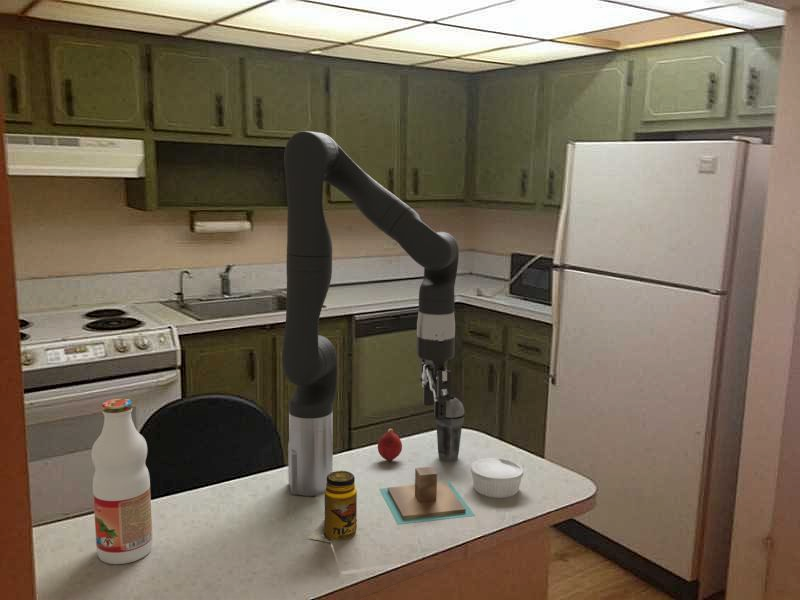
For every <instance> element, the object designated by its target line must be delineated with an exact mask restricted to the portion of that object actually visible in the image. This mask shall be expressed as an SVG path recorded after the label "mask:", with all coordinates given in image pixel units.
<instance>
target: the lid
mask: <svg viewBox="0 0 800 600" xmlns="http://www.w3.org/2000/svg"><path fill="white" fill-rule="evenodd" d="M414 471H415V473H414V484H413V485H412V484H411V485H403V486H400V485H399V486H393V487H391V486H390V487H387V488H388V493H389V495H390V496H391V498H392V500H393V502H394V504H395V506H396V507H397V509H398V511H399V513H400V515H401V517H402V518H403V520H405V519H414V518H423V517H433V516H442V515H451V514H460V513H466V509H465V508H464V506H463V505H462V504H461V502H460V501H459V500H458V498H457V497H456V496H455V494H454V493H453V491H452V490H451V489H450V487H449V486H448V485H447V483H446V482H447V481H443V482H438V473H437V471H436V470H435V469H434V467H433V466H426V467H425V466H423V467H415V470H414Z"/></svg>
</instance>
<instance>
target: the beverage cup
mask: <svg viewBox="0 0 800 600" xmlns="http://www.w3.org/2000/svg"><path fill="white" fill-rule="evenodd" d="M465 416H466V412H465V408H464V404H463V403H462V402H461V401H460V400H459V399H458V398H456V397H454V396H451V400H450V401H446V418H445V419H444V420H436V419H435V418H434V419H435V423H436V439H437V440H436V441H437V442H436V443H437V454H438V458H439V460H440V461H443V462H455V461H457V460H458V458H459V453H460V446H461V438H462V437H461V436H462V429H463V428H462V427H463V424H464V421H465Z"/></svg>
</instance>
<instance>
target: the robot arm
mask: <svg viewBox="0 0 800 600" xmlns="http://www.w3.org/2000/svg"><path fill="white" fill-rule="evenodd" d="M288 139H289V140H288V141H287V143H286V145H285V148H284V152H283V153H284V155H283V166H284V172H285V173H284V175H285V185H286V186H285V187H286V195H287V197H286V198H287V222H286V224H287V225H286V226H287V231H286V232H287V233H286V236H287V237H286V240H287V241H286V299H285V300H286V301H285V303H286V305H285V309H286V311H285V312H286V314H285V324H284V334H283V343H282V350H281V365H282V370H283V373H284V376H285V377H286V379H287V380H288V381H289V383H291V384H293V385H294V386H296V387H295V390H294V392H293V394H292V395H291V396H290V399H289V400H288V425H289V426H288V432H289V435H288V436H289V439H288V443H287V447H288V448H287V449H288V452H287V453H288V454H287V455H288V456H287V457H288V458H287V459H288V460H287V462H288V470H287V471H288V472H287V473H288V485H289V490H290V494H291V495H298V496H303V497H304V496H306V497H313V496H317V495H319V494H325V489H326V484H327V480H326V479H327V476H328V475H329V474H330V473H332V472H334V471H333V465H334V464H333V458H334V457H333V456H334V455H333V445H334V444H333V438H334V437H333V432H334V431H333V422H334V421H333V417H334V416H333V414H334V413H333V409H334V408H333V407H334V406H333V405H334V402H335V400H336V399H335V398H336V395H337V383H338V382H337V380H338V356H337V351H336V348H335V346H334V345H333V343H332V342H331V340H329V339H328V338H327V337H326V336H323V335H319V323H320V322H319V321H320V316H321V313H322V310H323V306H324V304H325V300H326V298H327V296H328V292H329V288H330V285H331V282H332V281H331V280H332V274H333V273H332V272H333V243H332V238H331V237H332V236H331V234H330V233H331V232H330V230H329V227H328V226H329V225H328V222H327V220H326V219H327V218H326V215H325V211H324V205H323V196H324V195H323V193H324V192H323V191H324V182H325V183H327V184H329V185H330V186H332V187H334V188H335V189H337V190H338V191H340V192H341V193H342V194H343V195H345V196H346V197H347V198H348V199H349V200H350V201H351V202H352V203H353V204H354V205H355V207H356V208H357V209H358V210H359V212H361V213H362V215H363V216H364V217H365V218H366V219H367V220H368V221H369V222H371V223H372V224H373V226H375V227H376V228H378V229H379V231H382V232H383V233H384V234H385V235H386V236H388V237H389V238H391V239H392V240H393V241H395V242H396V243H397V244H398V245H399V247H400V248H402V249H403V250H404V251H405V252H406V254H407V255H408V256H409V257H410V258H411V259H413V261H414V262H416V263H417V264H418V265H419V266H421V267H422V268H424V269H423V279H422V283H421V284H420V286H419V291H418V315H417V320H416V356H417V357H418V358H419V359H420V370H419V373H420V375H419V376H420V377H419V382H421V387H422V388H423V392H422V395H423V396H422V397H423V398H422V404H423V405H424V406H427V407H428V406H429V407H431V406H433V408H434V409H433V415H434V416H433V418H434V419H436V420H444V419H445V418H446V401H450V400H451V397H452V395H451V392H452V391H451V390H452V388H451V387H452V384H451V383H452V380H451V379H452V372H451V370H449V369H447V367H446V362H447V361H449V360H452V359H453V358H454V357H455V346H456V345H455V344H456V343H455V341H456V340H455V338H456V337H455V336H456V335H455V334H456V320H455V319H456V318H455V301H456V300H455V298H456V297H455V285H456V279H457V274H458V267H459V253H460V251H459V245H458V242H457V240H456V239H455V237H454V236H453V235H452V234H450V233H448V232H445V231H435V230H433V229H432V228H431V227H430V226H429V225H428V224H426V223H424V222H423V221H422V219H421V216H420V215H419V213H418V212H416V210H414V209H413V208H412V207H410V205H409V204H407V203H405V202H404V201H402V200H401V199H400V198H399V197H397V196H396V195H395V194H393V193H392V192H391V191H390V190H388V189H387V188H385V187H384V186H383V185H381V184H380V183H379V182H377V181H376V180H375V179H374V178H372V176H370V175H369V174H368V173H366V171H364V170H363V169H362V167H360V166H359V165H358V164H357V163H356V162H355V161H354V160H353V159H352V158H351V157H350V156H349V155H348V154H347V153H346V152H345V150H344V149H343V148H342V147H341V146H340V145H339V144H338V143H337V142H336V141H335V140H334V139H333V138H332V137H331V136H330V135H327V134H326V133H323V132H317V131H309V130H303V131H297V132H296V133H293V134H292V136H290V138H288ZM436 420H435V421H436Z"/></svg>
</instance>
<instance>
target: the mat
mask: <svg viewBox="0 0 800 600" xmlns="http://www.w3.org/2000/svg"><path fill="white" fill-rule="evenodd" d="M445 482H446V483H447V485H448V486H449V487H450V489H451V490H452V491H453V493H454V494H455V496H456V497H457V498H458V500H459V501H460V502H461V504H462V505H463V506H464V508H465V509H466V513H460V514H451V515H442V516H433V517H423V518H414V519H405V520H403V518H402V517H401V515H400V513H399V511H398V509H397V507H396V506H395V504H394V502H393V500H392V498H391V496H390V495H389V493H388V488H389V487H385V488H378V489H379V492H380V493H381V495H382V498H383V499H384V501H385V503H386V505H387V507H388V509H389V511H390V512H391V514H392V516H393V518H394V520H395V522H396V523H397V525H405V524H412V523H423V522H432V521H433V522H434V521H441V520H450V519H457V518H466V517H476V515H475V513H474V512H473V511H472V509H471V508H470V507H469V505H468V504H467V502H466V501H465V500H464V499H463V498H462V496H461V495H460V494H459V492H458V491H457V490H456V488H455V487H454V486H453V484H452V483H451V481H445Z"/></svg>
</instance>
